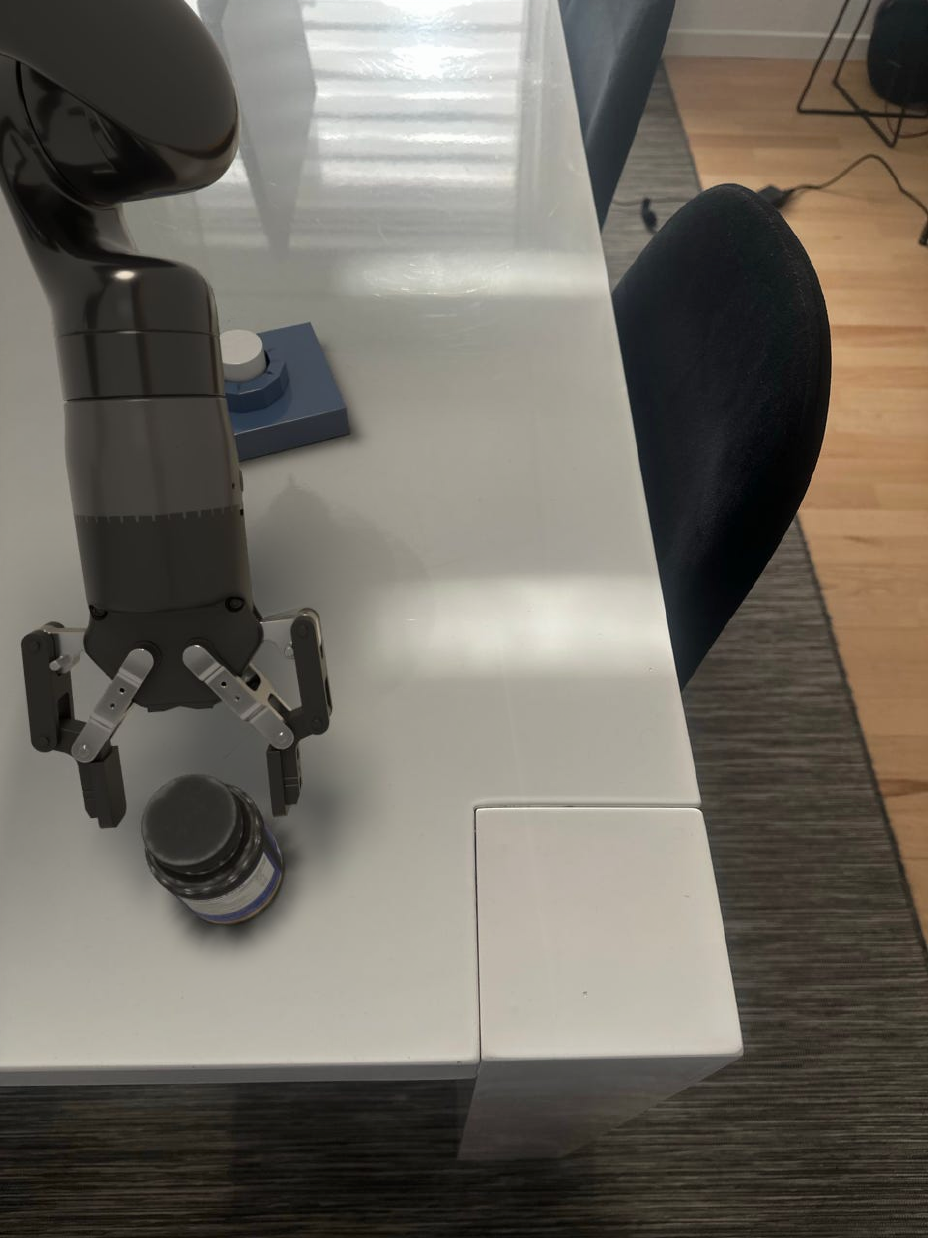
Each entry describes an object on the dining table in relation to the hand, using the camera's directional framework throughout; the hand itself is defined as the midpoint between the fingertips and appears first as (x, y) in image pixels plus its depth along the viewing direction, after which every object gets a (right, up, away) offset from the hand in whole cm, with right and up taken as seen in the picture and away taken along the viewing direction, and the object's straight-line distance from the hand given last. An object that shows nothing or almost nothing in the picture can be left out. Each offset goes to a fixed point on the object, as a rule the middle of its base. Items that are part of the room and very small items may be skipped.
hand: (199, 815), depth 43 cm
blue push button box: (-4, +28, +28) cm, 40 cm away
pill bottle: (0, -5, +8) cm, 9 cm away
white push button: (-4, +30, +24) cm, 39 cm away
